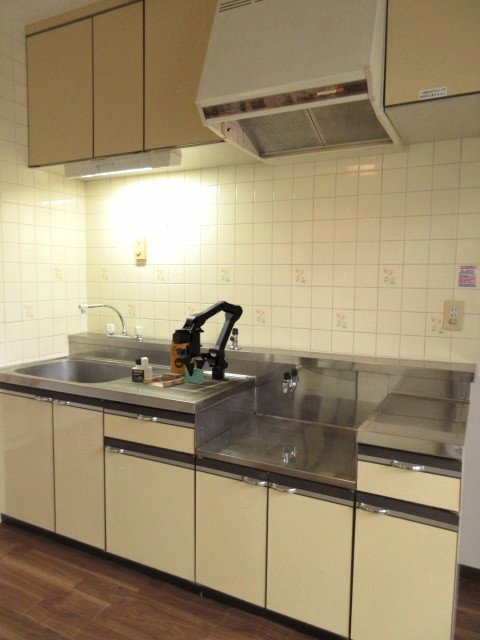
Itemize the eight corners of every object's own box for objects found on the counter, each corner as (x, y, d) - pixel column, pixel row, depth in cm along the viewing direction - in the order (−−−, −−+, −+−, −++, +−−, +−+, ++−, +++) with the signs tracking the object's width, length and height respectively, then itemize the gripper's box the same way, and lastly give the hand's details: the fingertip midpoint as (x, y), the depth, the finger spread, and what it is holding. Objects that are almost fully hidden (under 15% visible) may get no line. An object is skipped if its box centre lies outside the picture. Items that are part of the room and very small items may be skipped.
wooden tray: (164, 381, 226) (164, 375, 226) (184, 384, 219) (184, 377, 218) (144, 386, 215) (144, 379, 215) (164, 389, 207) (164, 382, 207)
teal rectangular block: (188, 381, 222) (188, 367, 221) (203, 384, 217) (203, 369, 216) (185, 382, 220) (185, 368, 219) (200, 385, 215) (199, 370, 214)
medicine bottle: (131, 382, 222) (131, 358, 221) (140, 380, 229) (139, 355, 228) (144, 384, 219) (143, 358, 218) (152, 381, 226) (152, 356, 225)
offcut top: (167, 376, 224) (167, 372, 223) (181, 378, 219) (180, 374, 219) (162, 377, 221) (162, 373, 220) (176, 379, 216) (176, 375, 216)
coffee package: (188, 378, 232) (188, 334, 231) (167, 376, 237) (167, 333, 236) (198, 374, 242) (198, 332, 240) (177, 373, 247) (177, 332, 245)
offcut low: (166, 379, 224) (166, 376, 224) (180, 381, 219) (180, 378, 219) (161, 381, 221) (161, 377, 221) (175, 383, 216) (175, 379, 216)
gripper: (193, 339, 229) (194, 370, 230) (167, 343, 214) (168, 376, 215) (211, 341, 223) (211, 373, 224) (186, 345, 207) (186, 379, 209)
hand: (194, 375), depth 218 cm, fingers open, 5 cm apart
